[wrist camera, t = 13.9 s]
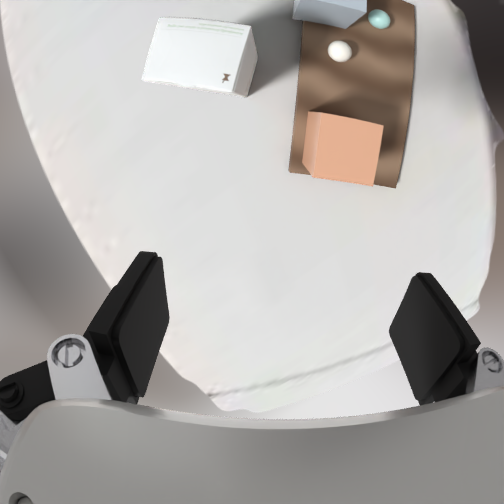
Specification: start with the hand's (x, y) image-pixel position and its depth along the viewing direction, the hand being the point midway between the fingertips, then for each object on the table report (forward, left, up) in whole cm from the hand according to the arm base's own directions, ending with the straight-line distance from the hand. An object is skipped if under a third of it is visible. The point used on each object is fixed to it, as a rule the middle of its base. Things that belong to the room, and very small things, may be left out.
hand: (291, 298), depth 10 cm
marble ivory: (-15, +6, -27) cm, 31 cm away
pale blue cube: (-23, +5, -29) cm, 37 cm away
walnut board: (-13, +11, -30) cm, 35 cm away
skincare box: (-11, -7, -31) cm, 33 cm away
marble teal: (-23, +12, -27) cm, 37 cm away
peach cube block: (-3, +8, -29) cm, 30 cm away
